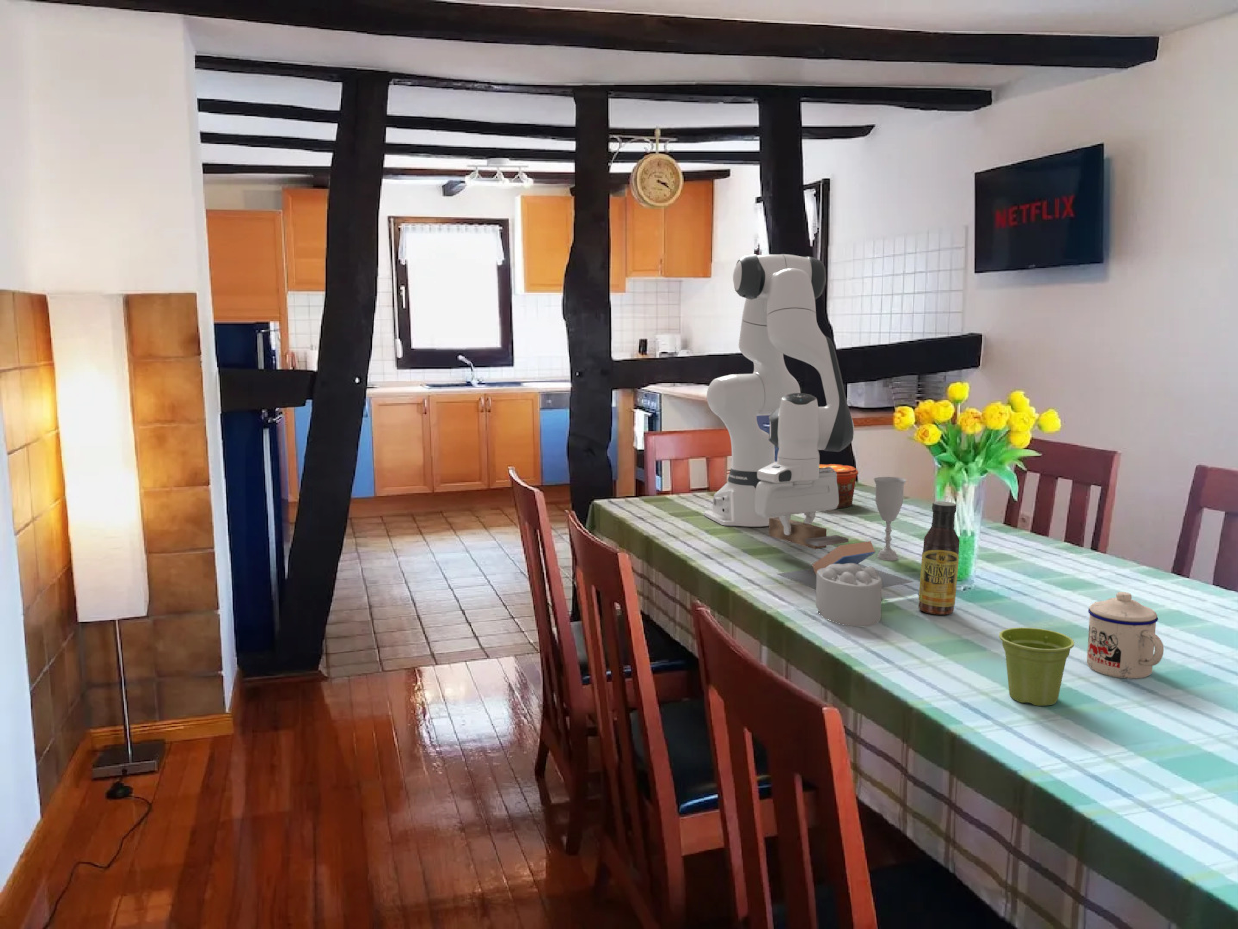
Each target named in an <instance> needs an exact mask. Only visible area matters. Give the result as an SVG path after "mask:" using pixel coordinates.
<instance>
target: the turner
mask: <svg viewBox="0 0 1238 929" xmlns="http://www.w3.org/2000/svg"><path fill="white" fill-rule="evenodd" d="M788 521H789V523H790V525H791V526H793V527H794V534H793V535H785V534H784V526H783V525H782V523H781V521H780V519H779V517H773V518H769V526H768V536H769V537H773V538H775V539H779V540H783V541H786V542H789V543H792V544H797V545H799V546H802V547H806V548H809V549H812V550H813V549H814V550H819V549H825V548H827V546H831V545H839V544H845V543H849V542H850V540H849V537H845V536H842V535H838V534H833V535H827V528H826V527H825V528H824V527H821V526H817V525H814V524H811V525H810V524H806V523H804V522H802V521H798V520H794V519H791V518H790V520H788Z"/></svg>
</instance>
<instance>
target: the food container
mask: <svg viewBox="0 0 1238 929" xmlns="http://www.w3.org/2000/svg"><path fill="white" fill-rule="evenodd" d="M826 467H831V468H832V469H833V470H835V472H836V474H837V486H838V495H839V504H838V506H837V508H836V509H844V508H848V507H851V506H852V505H853V499H854V493H855V486H856V481H857V480H856V479H857V475H859V471H858V469H857V468H856V467H854V466H851V465H843V464H835V463H833V464H832V463H830V464H822V463H821V464H820V463H819V468H826ZM831 472H833V471H831Z"/></svg>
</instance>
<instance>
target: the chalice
mask: <svg viewBox="0 0 1238 929" xmlns="http://www.w3.org/2000/svg"><path fill="white" fill-rule="evenodd" d="M873 481H874V483H875V499H874V501H875V504H876V508H877V511H878V513H879V515H880V518H881V520H882V521H884V522H885V525H886V527H885V529H884V531H885V534H886V535H885V537H883V539H884V541H885V545H884V548H882V549H880V550H879V551H878V554H877V557H876V558H877V559H878V560H881V561H882V560H883V561H896V560H899V558H898V557H899V556H898V555H897V552H896V550H895V549H892V547H891V541H892V540H893V538H892V537H891V533H892V531H893V530H892V527H891V526H892V525H891V524H892V522H894V521H896V519H897V517H898V515H899V513H900V512H901V509H902V506H903V504H904V487H905V484H906V482H907V479H906V478H903V477H896V476H877V477H874V478H873Z"/></svg>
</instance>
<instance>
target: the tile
mask: <svg viewBox="0 0 1238 929" xmlns="http://www.w3.org/2000/svg"><path fill="white" fill-rule="evenodd" d="M875 553H876V551H875V548H874V545H873V544H872V541H871V540H870V541H862V542H855V543H848V544H842V545H841V544H840V545H838V546H837V547H835V548H834V549H832V550H831V551H830V552H828V553H826V554H825V555H824V556H822V557H821V558H819V559H818V560H817V561H815V562H813V563H812V564H811V566H812V568H814V571H815V574H816V576H817V571H818V570H819V569H821V568H826V567H827V566H828V565H831V564H847V563H854V564H861V563H862V562H863V561H865V560H866V559H868V558H870V557H871V556H872V555H874V554H875Z"/></svg>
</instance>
